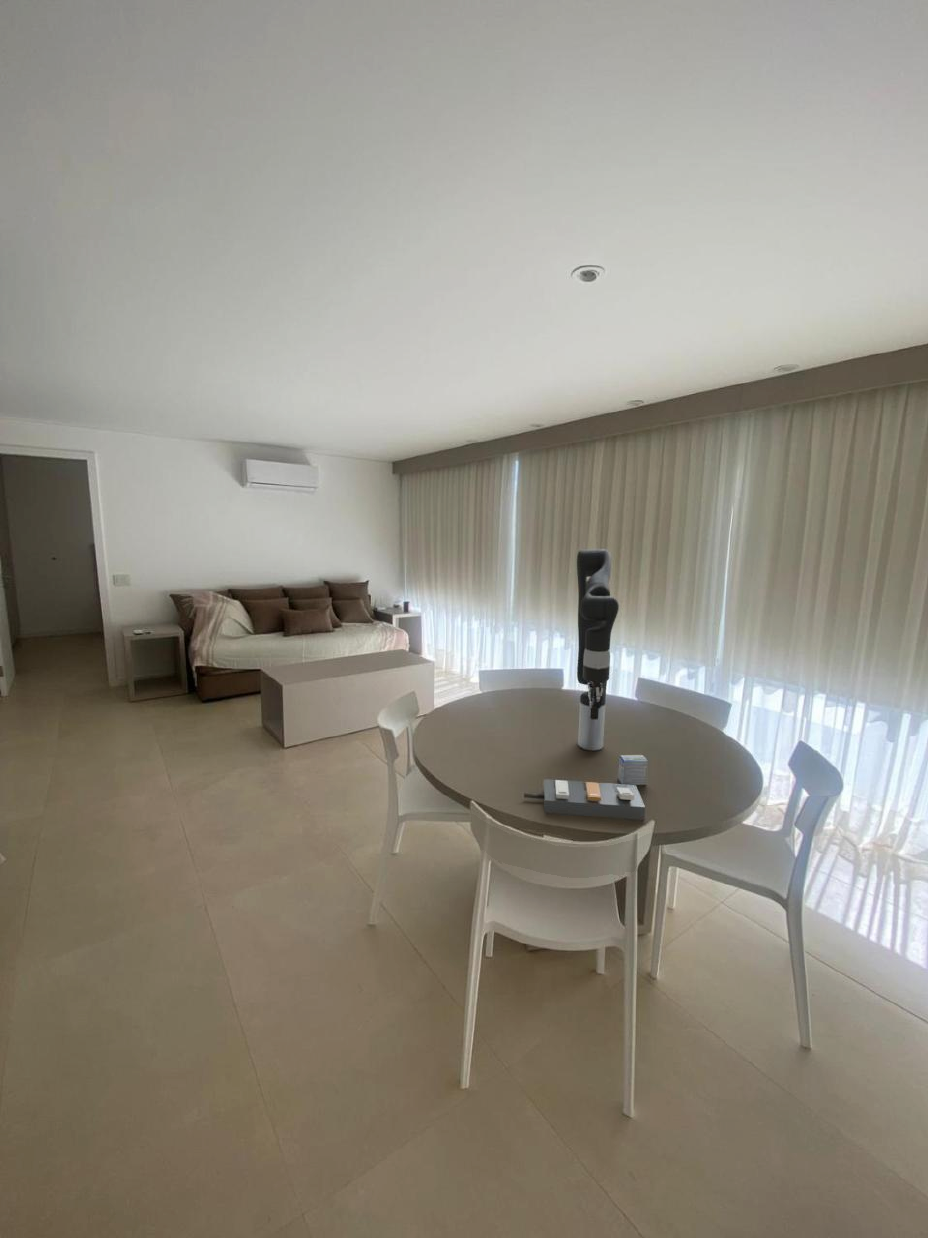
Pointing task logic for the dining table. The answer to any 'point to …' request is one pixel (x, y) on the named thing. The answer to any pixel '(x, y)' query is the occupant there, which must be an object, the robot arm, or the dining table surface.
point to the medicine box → (633, 769)
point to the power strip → (583, 806)
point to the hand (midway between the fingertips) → (593, 718)
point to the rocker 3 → (625, 793)
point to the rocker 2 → (593, 791)
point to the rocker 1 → (562, 789)
